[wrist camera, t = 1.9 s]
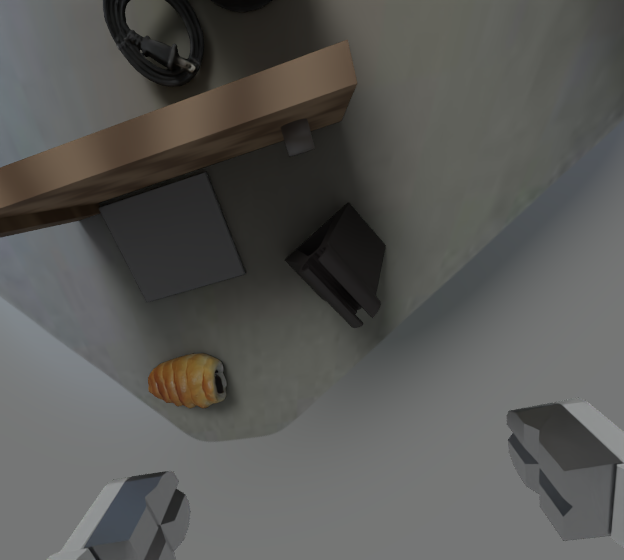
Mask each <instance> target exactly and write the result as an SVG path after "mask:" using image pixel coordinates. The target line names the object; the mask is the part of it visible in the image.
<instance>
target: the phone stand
mask: <svg viewBox="0 0 624 560" xmlns="http://www.w3.org/2000/svg"><path fill="white" fill-rule="evenodd" d="M385 247H386V245H385V244H384V243H383V242H382V241H381V240H380V238H379V237H378V236H377V235H376V234H375V233H374V231H373V230H372V229H371V228H370V227H369V226H368V224H367V223H366V222H365V221H364V220H363V219H362V217H361V216H360V215H359V214H358V213H357V212H356V210H355V209H354V208H353V207H352V206H351V205H350V203H347V204H346V205H345V206H344V207H343V208H341V209H340V210H339V211H338V212H337V213H336V214H335V215H334V216H333V217H331V218H330V219H329V220H328V221H327V222H326V223H325V224H324V225H323V226H322V227H320V228H319V229H318V230H317V231H316V232H315V233H314V234H313V235H312V236H310V237H309V238H308V239H307V240H306V241H305V242H304V243H303V244H302V245H301V246H299V247H298V248H297V249H296V250H295V251H294V252H293V253H292V254H291V255H289V256H288V257H287V258H286V259H285V261H286V262H287V263H288V264H289V265H290V266H291V267H292V268H293V269H294V270H295V271H296V272H297V273H298V274H299V275H300V276H301V277H302V278H303V280H304V281H305V282H306V283H307V284H308V285H309V286H310V287H311V288H312V289H313V290H314V291H315V292H316V293H317V294H318V295H319V296H320V297H321V298H322V299H324V300H325V301H327V302H328V303H329V304H330V305H331V306H332V307H333V308H334V309H335V310H336V311H337V312H338V313H339V314H340V315H341V316H342V317H343V318H344V319H345V320H346V322H347V323H348V324H349V325H350V326H351V327H353V328H357V327H360V326H362V325H363V322H362V321H361V320H360V319H359V318H358V317H357V316H356V315H355V314H356V313H357V310H359V309H361V307H362V308H363V309H364V310H365V311H366V312H367V313H368V314H369V315H370V316H371V317H372V318H373V317H374V316H375V314H376V313H377V312H378V310H379V308H380V305H381V302H380V300H379V299H378V298H377V296H376V292H377V287H378V282H379V277H380V272H381V267H382V262H383V257H384V252H385Z"/></svg>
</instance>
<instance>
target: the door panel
mask: <svg viewBox="0 0 624 560" xmlns="http://www.w3.org/2000/svg"><path fill="white" fill-rule="evenodd" d="M356 85H357V79H356V75H355V71H354V66H353V62H352V57H351V53H350V48H349V44H348V40H345V41H342V42H340V43H337V44H334V45H331V46H329V47H326V48H323V49H321V50H318V51H315V52H312V53H310V54H307V55H304V56H302V57H299V58H296V59H293V60H291V61H288V62H285V63H283V64H280V65H277V66H274V67H272V68H269V69H266V70H264V71H261V72H258V73H255V74H253V75H250V76H247V77H245V78H242V79H239V80H237V81H234V82H231V83H228V84H226V85H223V86H220V87H218V88H215V89H212V90H209V91H207V92H204V93H201V94H199V95H196V96H193V97H190V98H188V99H185V100H182V101H180V102H177V103H174V104H171V105H169V106H166V107H163V108H161V109H158V110H155V111H152V112H150V113H147V114H144V115H142V116H139V117H136V118H133V119H131V120H128V121H125V122H123V123H120V124H117V125H115V126H112V127H109V128H106V129H104V130H101V131H98V132H96V133H93V134H90V135H87V136H85V137H82V138H79V139H77V140H74V141H71V142H68V143H66V144H63V145H60V146H58V147H55V148H52V149H49V150H47V151H44V152H41V153H39V154H36V155H33V156H30V157H28V158H25V159H22V160H20V161H17V162H14V163H11V164H9V165H6V166H3V167H1V168H0V237H5V236H9V235H14V234H19V233H23V232H28V231H33V230H37V229H42V228H47V227H51V226H56V225H61V224H65V223H70V222H75V221H79V220H82V219H85V218H88V217H91V216H94V215H97V214H100V213H101V212H100V210H99V208H100V205H99V203H100V202H103V201H106V200H109V199H112V198H115V197H118V196H121V195H124V194H127V193H130V192H133V191H136V190H139V189H141V188H144V187H147V186H150V185H153V184H156V183H159V182H162V181H165V180H168V179H171V178H174V177H177V176H180V175H183V174H186V173H189V172H192V171H195V170H198V169H201V168H204V167H207V166H210V165H213V164H215V163H218V162H221V161H224V160H227V159H230V158H233V157H236V156H239V155H242V154H245V153H248V152H251V151H254V150H257V149H260V148H263V147H266V146H269V145H272V144H275V143H278V142H281V141H285V144H286V147H287V151H288V154H289V157H290V156H295V155H298V154H301V153H304V152H307V151H310V150H312V149H315V145H314V142H313V138H312V134H311V131H313V130H316V129H319V128H322V127H325V126H328V125H331V124H334V123H337V122H340V121H341V120H342V118H343V116H344V113H345V111H346V109H347V106H348V104H349V102H350V99H351V97H352V95H353V92H354V90H355V88H356Z"/></svg>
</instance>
